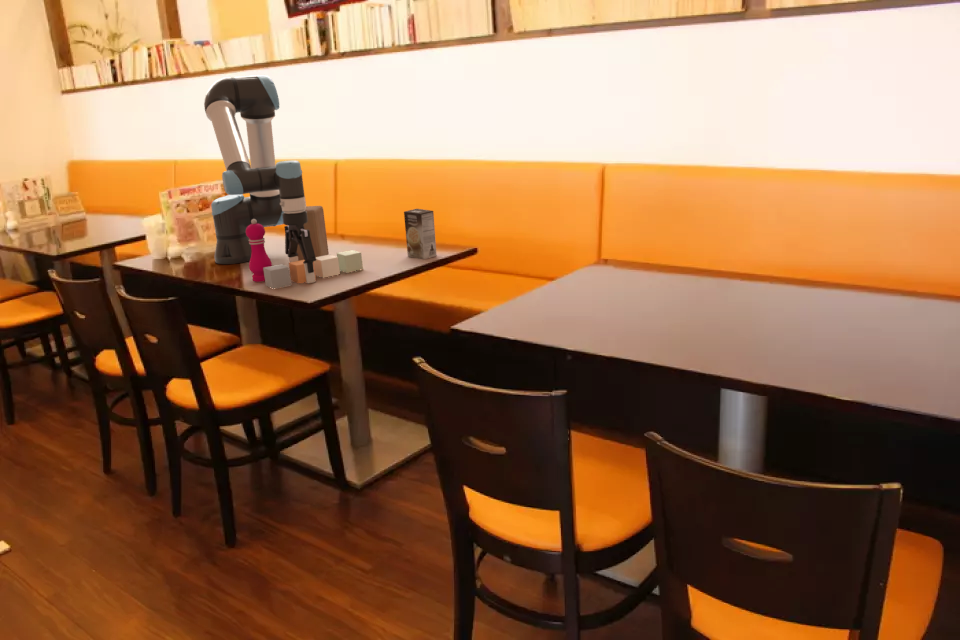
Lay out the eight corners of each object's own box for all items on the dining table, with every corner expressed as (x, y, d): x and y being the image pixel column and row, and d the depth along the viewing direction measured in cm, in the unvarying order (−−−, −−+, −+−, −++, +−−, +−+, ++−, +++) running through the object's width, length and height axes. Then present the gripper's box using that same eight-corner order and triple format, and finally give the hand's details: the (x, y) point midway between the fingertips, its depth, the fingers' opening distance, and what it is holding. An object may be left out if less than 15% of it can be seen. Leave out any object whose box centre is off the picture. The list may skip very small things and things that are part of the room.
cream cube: (315, 275, 252) (313, 257, 250) (331, 272, 256) (329, 254, 254) (323, 278, 248) (321, 260, 246) (340, 275, 251) (337, 257, 249)
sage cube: (338, 270, 257) (336, 253, 255) (354, 267, 260) (352, 249, 259) (347, 273, 252) (344, 255, 251) (363, 270, 256) (361, 252, 254)
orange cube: (291, 280, 248) (288, 262, 246) (308, 277, 251) (305, 259, 249) (298, 284, 243) (296, 265, 241) (316, 280, 246) (313, 262, 244)
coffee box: (406, 256, 271) (402, 211, 266) (420, 253, 275) (416, 208, 270) (424, 259, 265) (420, 213, 260) (437, 255, 269) (434, 210, 264)
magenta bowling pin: (278, 276, 254) (269, 216, 247) (266, 282, 247) (257, 220, 241) (258, 276, 255) (249, 216, 249) (246, 282, 249) (237, 221, 243)
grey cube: (265, 286, 243) (263, 267, 241) (283, 282, 246) (281, 264, 244) (273, 289, 238) (270, 270, 236) (291, 285, 242) (288, 267, 240)
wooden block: (330, 261, 270) (323, 205, 264) (322, 268, 261) (314, 210, 255) (303, 262, 271) (295, 206, 265) (293, 269, 262) (285, 211, 256)
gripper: (268, 209, 247) (278, 275, 254) (298, 216, 229) (308, 288, 236) (290, 206, 251) (299, 271, 258) (321, 213, 233) (330, 283, 240)
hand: (303, 279), depth 247 cm, fingers open, 11 cm apart
